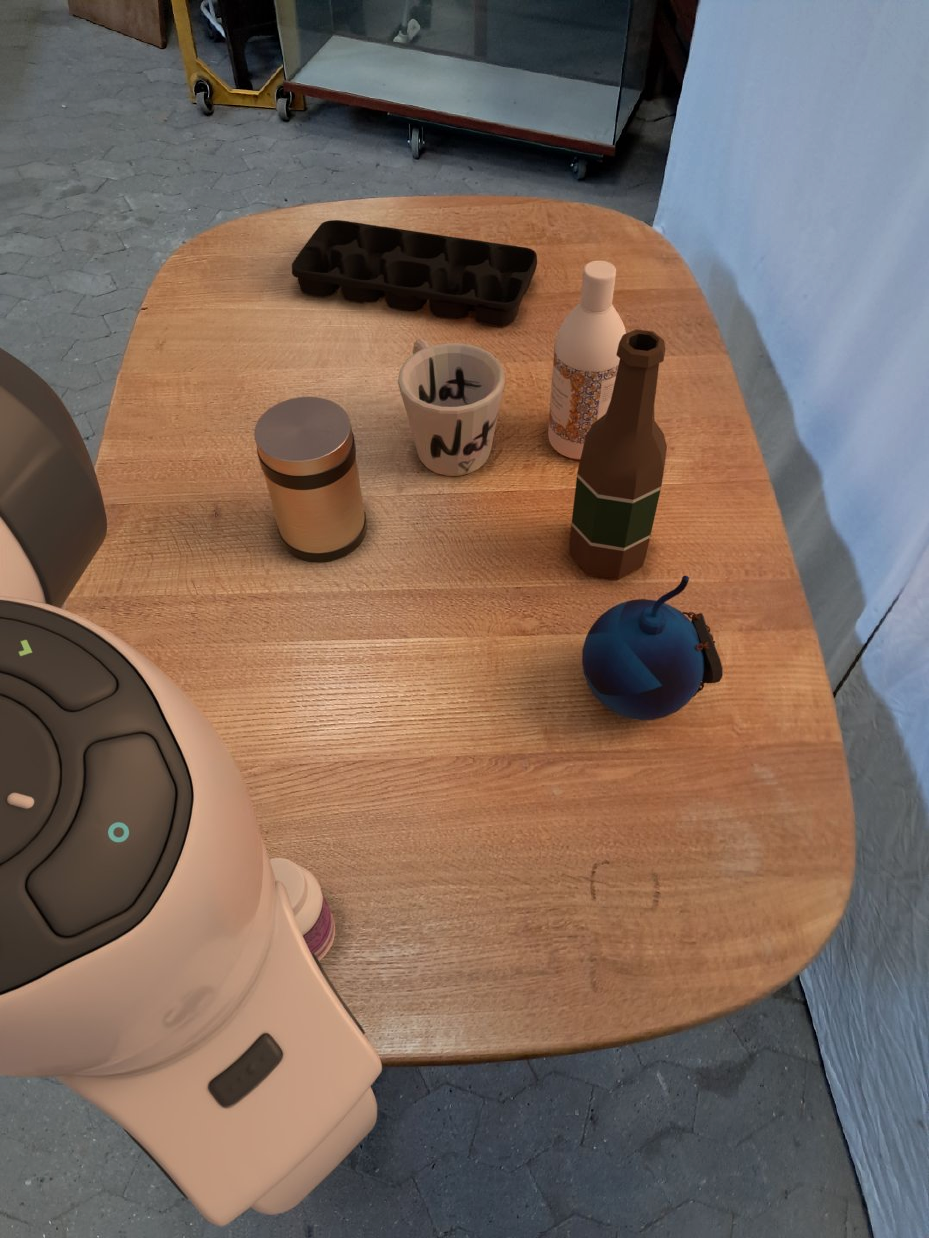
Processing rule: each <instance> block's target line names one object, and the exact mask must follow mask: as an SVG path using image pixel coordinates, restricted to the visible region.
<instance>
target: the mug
mask: <svg viewBox="0 0 929 1238" xmlns="http://www.w3.org/2000/svg"><path fill="white" fill-rule="evenodd" d="M397 378H398V380H397V384H398V388H399V392H400V395H401V398H402V403H403V406H404V409H405V414H406V416H407V420H408V423H409V428H410V431H411V434H412V438H413V441H414V445H415V448H416V451H417V455H418V458H419V460H420V461H421V463H422V464H423V465H424V466H425V468H426V469H428V470H430V471H432V472H433V473H435V474H439V475H442V476H446V477H452V476H453V477H459V476H464V475H469V474H471V473H473V472H476V471H478V470H479V469H480V468H481V467H482V466H484V465H485V464H486V463H487V461H488V458H489V457H490V455H491V453H492V452H491V451H492V446H493V441H494V437H495V434H496V433H495V432H496V428H497V423H498V418H499V413H500V409H501V404H502V399H503V394H504V390H505V385H506V372H505V370H504V368H503V366H502V364H501V361H500V360H499V359H498V358H497V357H496V356H494V355H493V354H492V352H490V351H488V350H486V349H483V348H481V347H479V346H477V345H472V344H468V343H465V342H464V343H463V342H444V343H439V344H438V343H437V344H433V345H429V343H428V342H427V341H426V340H425V339H421V338H420V339H417V340H415V341H414V342H413V346H412V354H411V356H409V357H408V358H407V359H405V360H404V363H403V364H402V366H401V367H400V368H399V372H398V377H397Z"/></svg>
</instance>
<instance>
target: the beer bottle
mask: <svg viewBox="0 0 929 1238" xmlns="http://www.w3.org/2000/svg"><path fill="white" fill-rule="evenodd" d="M616 355H617V356H618V357H619V358H620V361H619V365H618V370H617V374H616V379H615V383H614V388H613V393H612V397H611V401H610V404H609V406H608V409H607V412H606V414H605V415H603V416H602V417H601V418H600V419H598V420H597V421H596V422H594V423H593V425H592V426H591V428H590V429H589V431H588V432H587V434H586V437H585V441H584V446H583V450H582V454H581V459H579V464H578V468H577V473H576V480H575V481H576V482H575V491H574V500H573V508H572V515H571V525H570V532H569V533H570V534H569V543H568V555H569V556H570V558H571V559H572V560H573V561H574V562H575V563H576V564H577V566H579V568H581V570H582V571H583V572H584V573H585V574H586V575H587V576H590V577H595V578H601V579H607V580H614V581H618V580H620V579H622V578H624V577H626V576H628V575H630V574H632V573H634V572H635V571H636V572H637V570H639V569H641V568H642V567H643V566H644V564H645V560H646V558H647V554H648V548H649V545H650V540H651V535H652V532H653V531H652V530H653V526H654V523H655V518H656V513H657V508H658V504H659V500H660V495H661V492H662V491H661V490H662V487H663V486H662V485H663V481H664V480H663V479H664V473H665V472H664V471H665V465H666V458H667V450H668V444H667V441H666V437H665V434H664V432H663V431H662V429H661V428H660V426H659V425H658V423H657V422H656V419H655V404H656V403H655V402H656V396H657V395H656V394H657V385H658V379H659V378H658V377H659V369H660V363H663V362H664V360H665V355H666V344H665V339H663V337H661V336H660V335H659V334H658V333H656V332H655V331H654V330H647V329H638V328H636V329H634V330H631V331H629V332H626V334H624V335H623V336H622V338H621V340H620V342H619V345H618V350H617V354H616Z"/></svg>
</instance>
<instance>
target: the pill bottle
mask: <svg viewBox="0 0 929 1238" xmlns="http://www.w3.org/2000/svg"><path fill="white" fill-rule="evenodd" d="M269 859H270V864H271V866H272V869H273V872H274V876H275V879H276V881H277V880H278V881H281V882H282V883H283V884H284V886H285V888H286V891H287V893H288V896H289V900H290V903H291V906H292V909H293V912H294V915H295V918H296V921H297V923H298V926H299V928H300V931H301V933H302V935H303V938H304V940H305V942H306V944H307V946H308V948H309V950H310V952H311V953H312V952H313V953H314V954H315V955H316V957H317V959H318V961H319V962H320V961H322V960H323V958H324V957H326V955H327V953H329V951H330V949H331V948H332V945H333V944H334V941H335V935H336V924H335V918H334V916H333V912H332V911H331V908H330V906H329V903H328V902H327V899H326V897H325V894H324V892H323V889H322V887H321V884H320V882H319V881H318V879H317V878H316V877H315V876H314V875H313V873H312V872H310V871H309V869H307V868H305V867H303V866H302V865H299V864H297V863H295V862H294V861H292V860H290V859H287V858H284V857H271V858H269Z"/></svg>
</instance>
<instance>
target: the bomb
mask: <svg viewBox="0 0 929 1238" xmlns="http://www.w3.org/2000/svg"><path fill="white" fill-rule="evenodd" d="M689 581H690V577H689V576H688V575H683V576H682V577H681V580H680V583H679V584H678V585H677V586H676V587H675V588H673V589H672V590H670V591H668V592H667V593H665V594H663V595H661V596H659V598H658V599H657V600H656V599H648V598H639V599H637V598H636V599H631V600H627V601H624V602H620V603H618V604H616V605H614V606H612V607H610V608H609V609H608V610H606V611H605V612H603V613H602V614H601V615H600V616H599V617H598V618H597V619H596V620H595V622H594V623H593V624H592V626H591V627H590V629H589V631H588V633H587V634H586V636H585V639H584V643H583V646H582V649H581V665H582V673H583V676H584V679H585V682H586V684H587V686H588V689H589V690H590V692H591V693H592V695H593V696H594V698H595V699H596V700H597V701H598V702H599V703H600V704H601V705H603V706H604V707H605V708H606V709H607V710H609V711H610V712H612V713H614V714H615V715H617V716H620V717H623V718H626V719H629V720H635V721H642V722H643V721H654V720H659V719H664V718H666V717H668V716H670V715H673V714H675V713H676V712H678V711H679V710H681V709H682V708H683V707H685V705H687V704H688V703H690V701H691V700H692V699H693V698H694V697H696V695H698V693H699V692H701V691H703V689H704V688H705V687H704V686H705V684H706V685H707V684H708V685H709V684H717V683H720V681H721V680H722V678H723V675H724V673H723V672H724V671H723V670H724V669H723V665H722V660H721V658H720V655H719V652H718V650H717V647H716V640H714V635H713V634H712V633H711V627H710V626H709V625H707V622H706V620H705V616H704V614H703V613H702V612H699V613H695V612H693V611H690V612H689V611H688V612H687V611H681V610H679V609H677V608H675V607H674V606H672V605H670V604H668V603H666V602H668V601H669V600H671V599H673V598H675V597H677V596H678V595H680V594H681V593H682V592H683V591H684V590H685V589H686V588H687V586H688V583H689ZM690 619H691V620H690Z"/></svg>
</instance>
